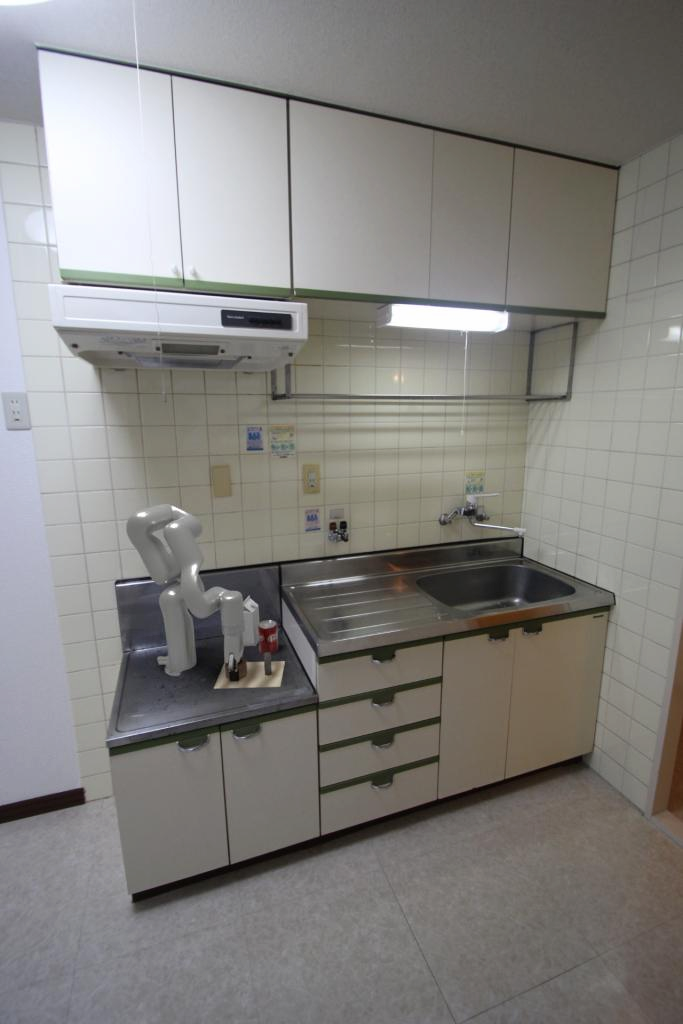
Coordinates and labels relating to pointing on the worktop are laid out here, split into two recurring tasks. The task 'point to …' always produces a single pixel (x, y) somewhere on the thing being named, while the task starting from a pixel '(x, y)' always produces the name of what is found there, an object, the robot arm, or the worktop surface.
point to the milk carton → (250, 622)
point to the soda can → (268, 636)
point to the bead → (241, 667)
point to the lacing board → (255, 675)
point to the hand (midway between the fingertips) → (236, 674)
